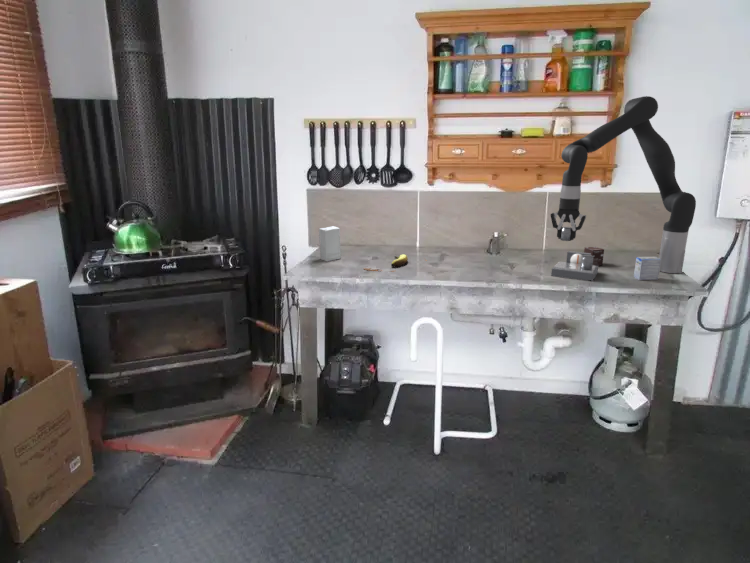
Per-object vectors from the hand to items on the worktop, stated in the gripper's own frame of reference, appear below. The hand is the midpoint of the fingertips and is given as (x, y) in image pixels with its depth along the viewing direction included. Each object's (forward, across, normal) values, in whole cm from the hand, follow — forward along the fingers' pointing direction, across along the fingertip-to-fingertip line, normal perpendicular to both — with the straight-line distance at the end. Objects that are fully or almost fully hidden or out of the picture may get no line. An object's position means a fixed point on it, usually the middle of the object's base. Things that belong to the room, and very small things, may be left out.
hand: (565, 238), depth 214 cm
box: (+15, -8, -24) cm, 29 cm away
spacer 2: (+11, -9, 0) cm, 14 cm away
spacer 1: (0, 0, 0) cm, 0 cm away
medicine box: (+15, -31, -10) cm, 36 cm away
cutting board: (+16, +68, +15) cm, 72 cm away
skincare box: (+15, +100, +24) cm, 104 cm away
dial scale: (+15, -4, -2) cm, 16 cm away
